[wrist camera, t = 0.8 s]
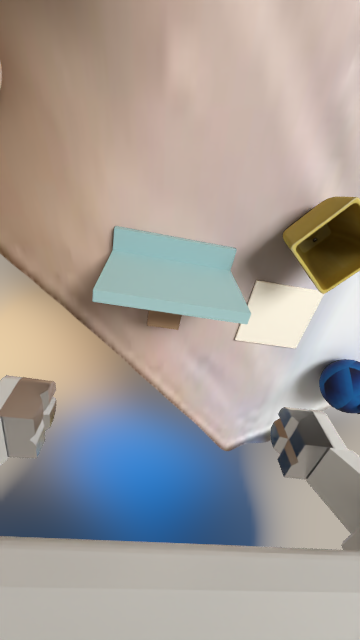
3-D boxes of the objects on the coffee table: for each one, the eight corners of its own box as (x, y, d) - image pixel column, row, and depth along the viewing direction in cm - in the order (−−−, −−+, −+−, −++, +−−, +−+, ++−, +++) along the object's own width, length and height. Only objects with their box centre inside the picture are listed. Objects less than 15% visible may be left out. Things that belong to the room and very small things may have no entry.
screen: (115, 225, 40) (94, 261, 29) (235, 248, 43) (260, 288, 31) (113, 257, 43) (92, 301, 31) (226, 276, 45) (247, 324, 34)
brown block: (152, 282, 46) (151, 297, 41) (182, 287, 46) (184, 302, 42) (148, 310, 48) (146, 326, 44) (177, 314, 49) (177, 330, 45)
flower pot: (267, 228, 41) (289, 247, 34) (321, 184, 39) (359, 195, 31) (296, 269, 45) (322, 295, 38) (348, 232, 42) (387, 253, 35)
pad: (256, 280, 46) (257, 281, 45) (323, 291, 47) (324, 292, 47) (234, 338, 52) (235, 340, 52) (294, 347, 54) (295, 348, 53)
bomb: (330, 394, 61) (373, 460, 49) (301, 370, 57) (339, 436, 45) (372, 367, 57) (429, 432, 45) (343, 340, 53) (398, 403, 41)
